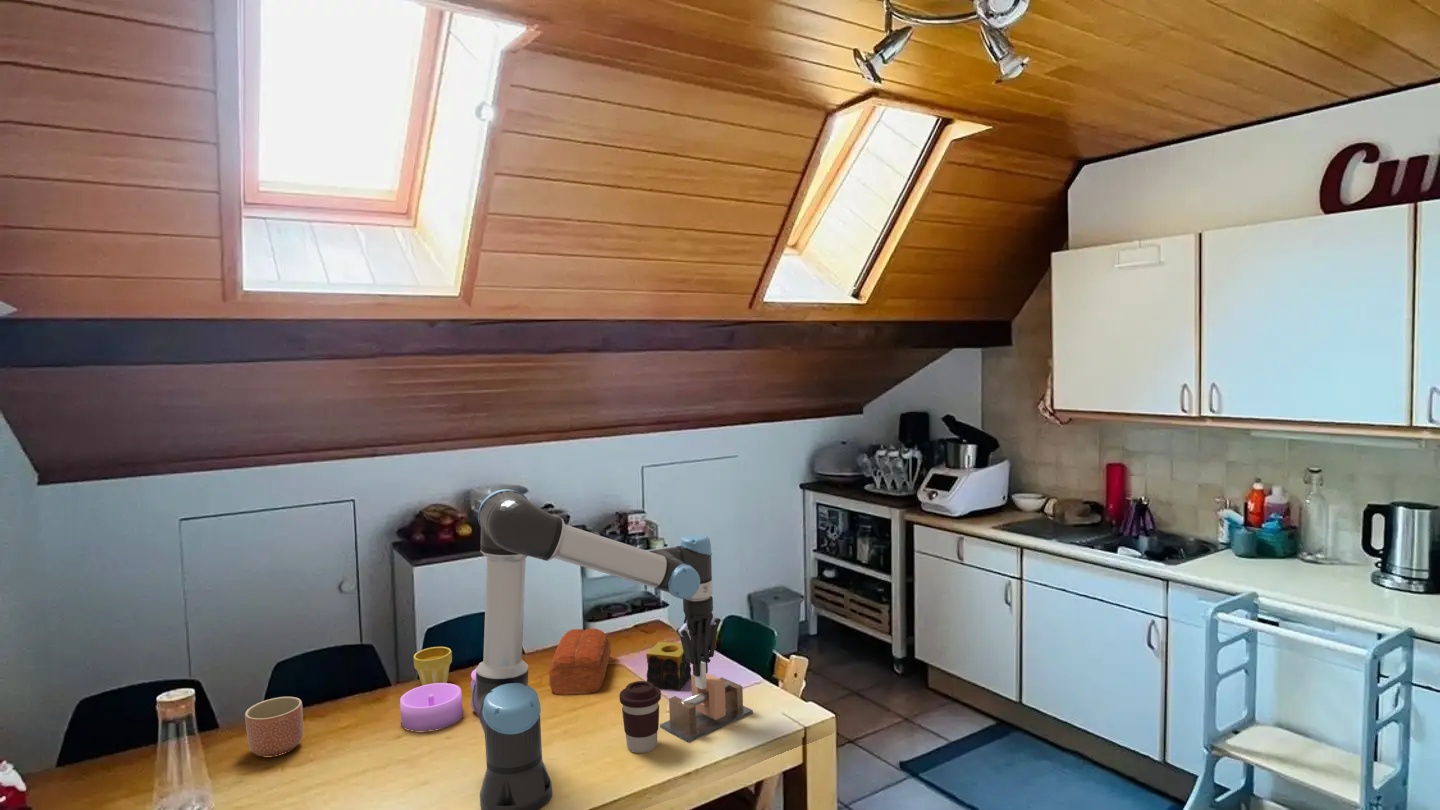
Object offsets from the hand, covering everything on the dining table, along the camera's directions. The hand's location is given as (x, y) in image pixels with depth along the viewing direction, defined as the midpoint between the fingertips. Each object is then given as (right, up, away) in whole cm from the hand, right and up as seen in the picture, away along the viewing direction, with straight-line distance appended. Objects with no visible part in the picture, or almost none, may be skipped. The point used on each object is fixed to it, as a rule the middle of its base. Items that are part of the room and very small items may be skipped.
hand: (700, 686), depth 211 cm
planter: (-104, -13, -7) cm, 105 cm away
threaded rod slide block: (+2, -9, +2) cm, 10 cm away
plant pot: (-77, -9, +28) cm, 83 cm away
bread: (-36, -8, +33) cm, 49 cm away
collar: (+2, -7, +2) cm, 8 cm away
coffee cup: (-14, -11, -10) cm, 21 cm away
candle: (-10, -8, +26) cm, 29 cm away
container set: (-66, -11, +9) cm, 68 cm away
